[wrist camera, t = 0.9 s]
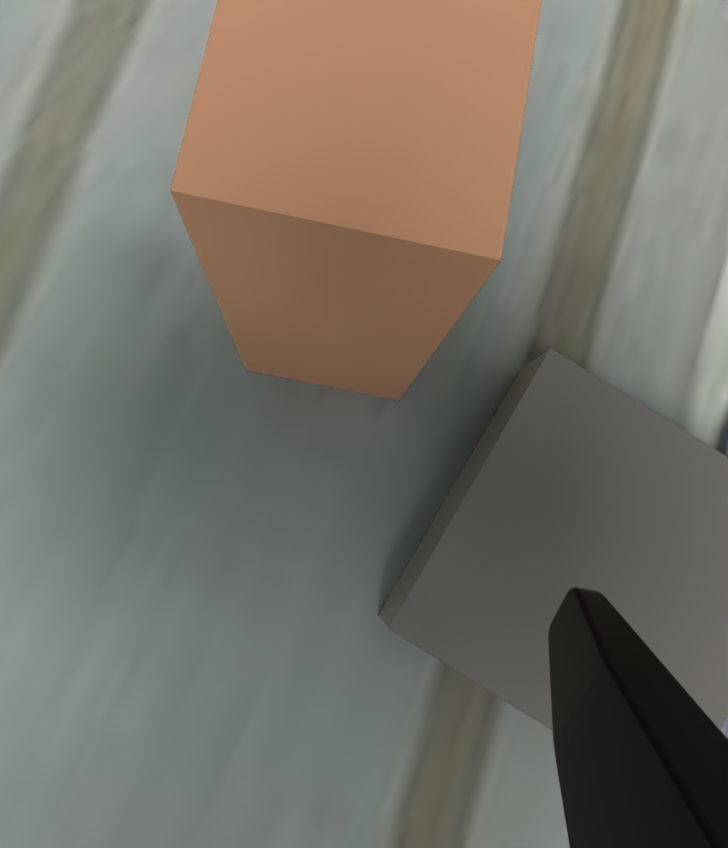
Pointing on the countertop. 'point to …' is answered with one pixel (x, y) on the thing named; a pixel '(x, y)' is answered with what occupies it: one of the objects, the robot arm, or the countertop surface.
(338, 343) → the tall block
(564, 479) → the plinth
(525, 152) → the countertop surface
